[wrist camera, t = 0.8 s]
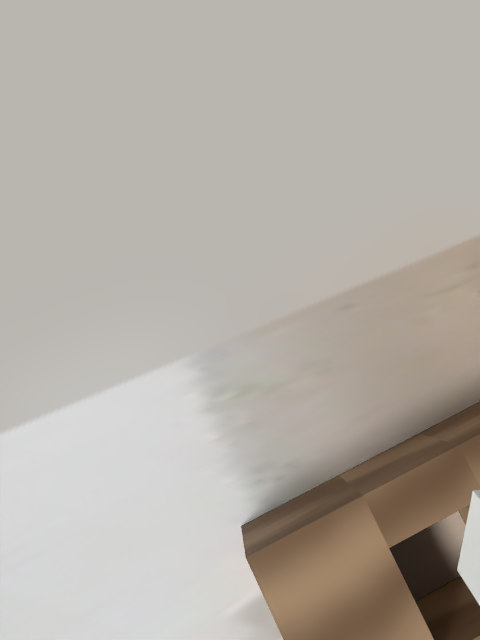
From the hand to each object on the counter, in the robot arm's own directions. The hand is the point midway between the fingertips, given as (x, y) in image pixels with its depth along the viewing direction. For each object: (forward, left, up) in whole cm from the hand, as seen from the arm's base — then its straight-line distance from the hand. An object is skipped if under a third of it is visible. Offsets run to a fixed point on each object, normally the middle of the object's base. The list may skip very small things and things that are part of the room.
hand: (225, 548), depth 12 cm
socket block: (-11, -9, -18) cm, 23 cm away
